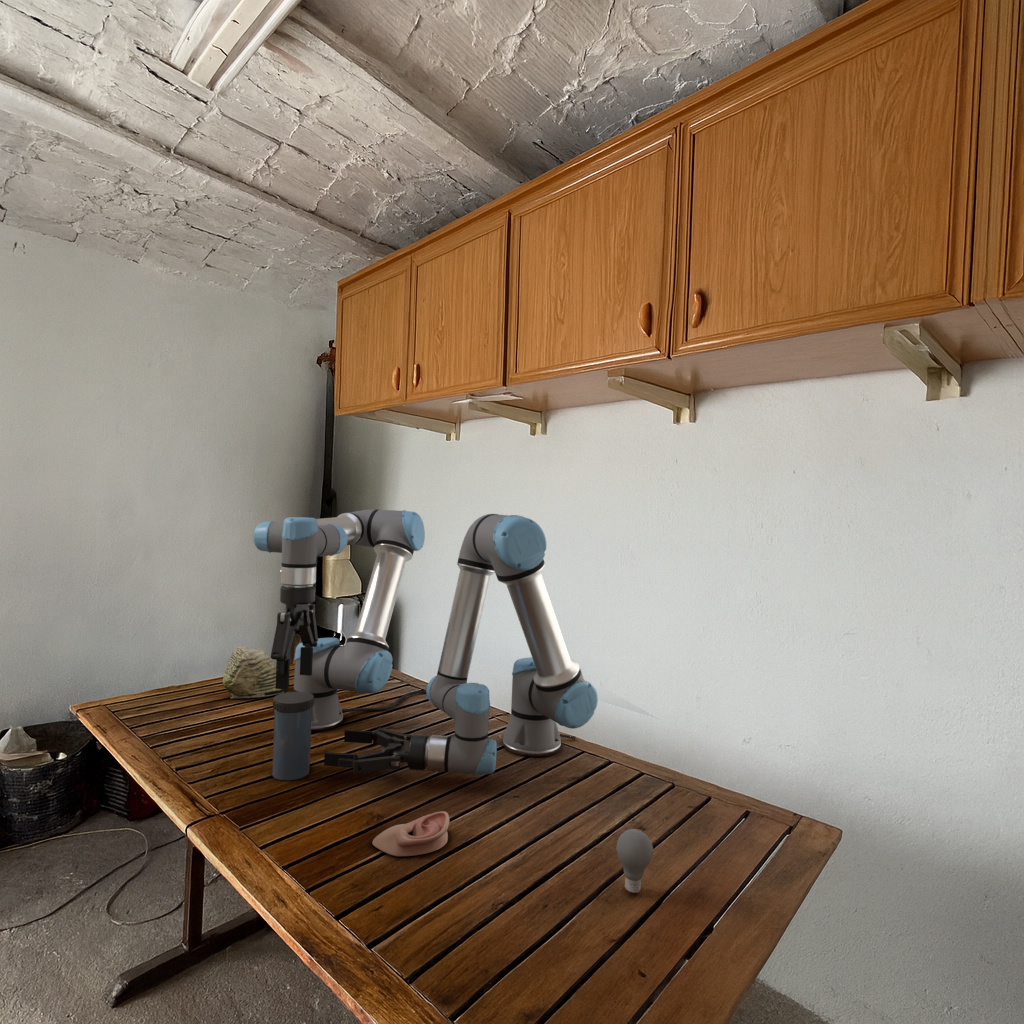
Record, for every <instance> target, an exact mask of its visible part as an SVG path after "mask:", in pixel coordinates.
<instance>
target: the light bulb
mask: <svg viewBox="0 0 1024 1024" xmlns="http://www.w3.org/2000/svg"><path fill="white" fill-rule="evenodd" d="M615 849H616V854H617V857H618V859H619V861H620V863H621V865H622V867H623V873H624V874H623V875H624V876H625V878H624V888H625V890H627V891H628V892H630V893H634V894H635V893H639V892H640V891H641V889H642V887H641V886H642V879H643V877H644V875H645V871H646V868H647V867H648V866H649V864H650V863H651V861H652V859H653V855H654V847H653V843H652V841H651V838H649V836H648V835H647V834H646V833H645V832H643V831H642V830H641V829H636V828H629V829H627V830H625V831H623V832H622V833H621V834H620V835H619V837H618V839H617V841H616V847H615Z"/></svg>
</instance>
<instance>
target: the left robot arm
mask: <svg viewBox="0 0 1024 1024" xmlns="http://www.w3.org/2000/svg"><path fill="white" fill-rule="evenodd" d="M425 530H426V529H425V525H424V521H423V518H422V517H421V515H420V514H419V513H417V512H416V511H409V510H406V509H405V510H394V509H391V510H390V509H377V508H375V509H374V508H373V509H372V508H371V509H363V510H356V511H352V512H350V511H349V512H344V513H340V514H338V516H335V517H324V518H315V517H308V516H307V517H305V516H303V517H302V516H295V517H294V516H289V517H286V518H285V519H284V520H283V521H273V520H271V521H262V522H260V523H258V524H257V526H256V527H255V528H254V531H253V544H254V546H255V548H256V549H257V550H259V551H261V552H266V553H270V554H271V553H281V568H280V570H279V573H280V584H281V586H280V589H279V592H280V593H279V602H280V603H282V604H284V605H285V609H284V612H278V613H277V614H276V627H275V631H274V637H273V641H272V647H271V651H270V658H271V659H272V660H273V661H274V660H275V661H276V663H275V665H276V688H275V689H284V690H285V691H287V690H289V689H290V670H291V669H290V665H291V660H290V658H289V655H290V652H291V648H292V645H293V642H294V638H295V635H296V632H298V633H299V638H300V640H301V642H299V643H298V644H297V645H296V647H295V652H294V653H295V654H294V659H293V660H294V672H293V692H307V693H311V694H312V695H313V696H314V705H313V707H312V720H311V733H316V732H325V731H329V730H332V729H335V728H337V727H339V726H340V725H342V723H343V722H344V714H343V713H348V712H349V713H350V712H369V711H370V712H372V711H373V712H375V711H376V712H377V711H386V710H390V709H392V708H394V707H396V706H397V704H398V703H399V702H401V701H402V700H403V699H405V698H407V697H409V696H413V695H417V694H426V689H424V690H415V691H410V692H407V693H405V694H403V695H402V696H401V697H399V698H398V699H396V700H395V701H394V703H393V704H390V705H387V706H383V707H382V706H381V707H359V708H358V707H356V708H355V707H354V708H342V706H341V702H340V699H339V695H338V690H339V691H340V690H341V691H347V692H354V693H357V694H358V693H359V694H371V695H372V694H376V693H378V692H380V691H381V690H382V689H383V688H384V687H385V685H386V684H387V683H388V681H389V679H390V676H391V675H392V670H393V656H392V654H391V652H389V649H390V646H389V644H388V643H387V641H386V638H387V635H388V631H389V628H390V623H391V619H392V616H393V612H394V608H395V604H396V601H397V597H398V593H399V589H400V585H401V582H402V578H403V573H404V570H405V566H406V563H407V562H409V561H410V560H412V559H413V556H414V552H419V551H420V550H422V549H423V547H424V545H425V537H426V536H425V535H426V533H425V532H426V531H425ZM347 546H362V547H368V548H373V551H374V553H375V554H376V558H375V561H374V564H373V568H372V572H371V575H370V579H369V581H368V585H367V589H366V592H365V596H364V598H363V603H362V606H361V610H360V613H359V617H358V620H357V624H356V627H355V630H354V633H353V634H351V635H349V636H348V637H347V639H346V641H345V645H340V644H341V643H340V642H341V641H340V639H339V638H337V637H320V638H319V636H318V635H319V634H318V628H317V619H316V604H315V603H314V602H315V601H316V586H314V585H315V584H316V582H317V557H320V558H321V557H328V556H329V557H334V556H336V555H339V554H341V553H342V552H343V551H344V550H345V549H346V548H347Z"/></svg>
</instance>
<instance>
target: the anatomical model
mask: <svg viewBox="0 0 1024 1024" xmlns="http://www.w3.org/2000/svg"><path fill="white" fill-rule="evenodd" d="M449 827H450V816H449V813H448V812H447V811H442V810H441V811H436V812H432V813H429V814H426V815H424V816H421V817H418V818H416V819H414V820H412V821H410V822H407V823H401V824H395V825H393V826H390V827H389V828H387V829H385V830H383V831H381V833H379V834H378V835H376V836H375V837H374V838H373V839H372V845H373V847H375V848H376V849H378V850H380V851H381V852H383V853H385V854H388V855H390V856H394V857H410V856H411V857H412V856H419V855H425V854H429V853H433V852H435V851H438V850H440V849H442V848H443V847H445V846H446V845H447V843H448V840H449V833H448V829H449Z"/></svg>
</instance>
